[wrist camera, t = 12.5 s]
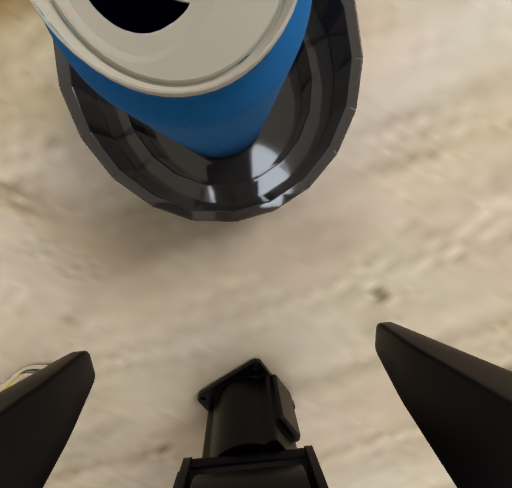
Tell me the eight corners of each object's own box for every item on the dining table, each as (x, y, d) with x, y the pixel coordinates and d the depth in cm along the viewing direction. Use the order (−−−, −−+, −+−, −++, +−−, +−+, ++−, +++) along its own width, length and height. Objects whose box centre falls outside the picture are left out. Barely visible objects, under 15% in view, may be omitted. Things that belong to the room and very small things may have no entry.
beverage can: (142, 88, 16) (-133, -170, 4) (228, 22, 15) (194, -495, 3) (205, 178, 17) (137, 178, 6) (285, 122, 17) (390, -6, 5)
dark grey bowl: (198, 246, 19) (185, 269, 14) (59, 63, 16) (-21, 10, 11) (362, 137, 18) (408, 122, 13) (251, -89, 14) (258, -225, 9)
